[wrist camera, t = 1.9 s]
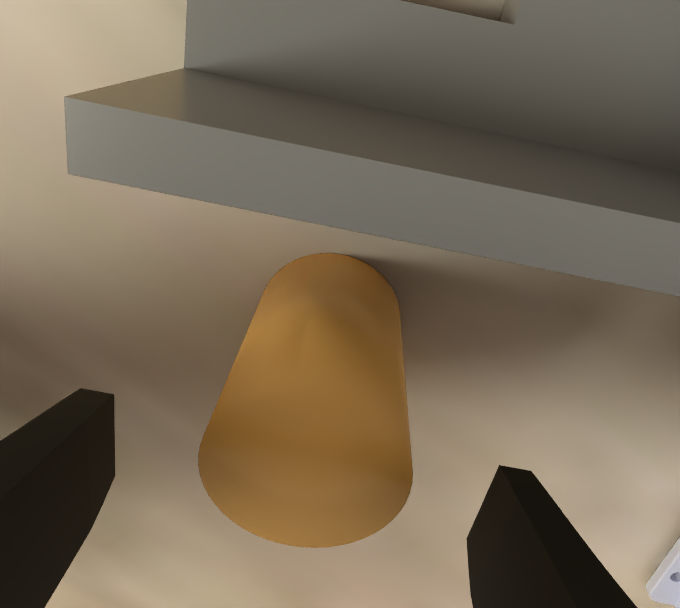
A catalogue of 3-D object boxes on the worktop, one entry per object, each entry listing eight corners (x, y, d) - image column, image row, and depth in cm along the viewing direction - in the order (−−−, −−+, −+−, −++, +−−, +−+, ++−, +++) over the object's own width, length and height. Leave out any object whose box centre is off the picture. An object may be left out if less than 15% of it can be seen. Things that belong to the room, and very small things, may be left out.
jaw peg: (382, 387, 16) (385, 562, 11) (252, 362, 16) (191, 527, 11) (415, 269, 14) (438, 412, 9) (269, 239, 14) (205, 367, 9)
